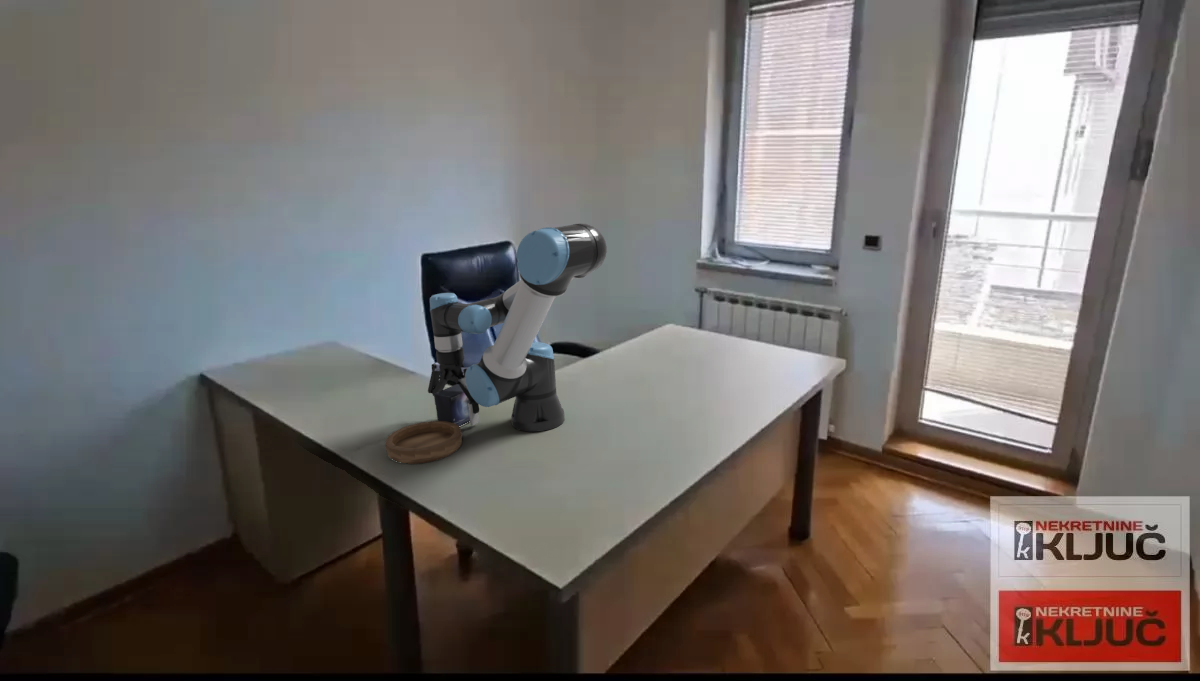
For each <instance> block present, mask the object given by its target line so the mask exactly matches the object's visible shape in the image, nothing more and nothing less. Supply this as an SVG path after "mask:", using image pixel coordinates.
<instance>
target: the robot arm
mask: <svg viewBox="0 0 1200 681" xmlns="http://www.w3.org/2000/svg"><path fill="white" fill-rule="evenodd" d="M607 252H608V251H607V243H606V240H605V237H604V235H603V234H602V233H601V232H600V231H599V230H598V229H597V228H596V227H594V226H592V225H590V224H587V223H575V224H569V225H562V226H557V227H543V228H542V227H541V228H540V229H537V230H533V231H531V232H529V233H527V234H526V235H525V236H523V238H522V239H521V241H520V242H519V244H518V246H517V250H516V255H515V256H516V258H515V259H516V260H517V261H518V262H516V266H517V267H516V268H517V270H518V276H519V278H520V280H519V281H517V282H515V284H514V285H512V286H510V287H509V288H507V289H506V291H504V292H503V293H500V294H499V295H498V296H496V297H491V298H487V299H483V300H480V301H479V300H478V301H475V302H471V303H470V302H469V303H460V302H459V299H458V296H457V295H456V294H455V293H454V292H441V293H437V294H432V295H431V297H429V312H430V318H431V325H432V326H431V327H432V331H433V338H434V339H433V340H434V341H433V342H434V348H435V350H436V352H435V355H436V362H434V363H432V364H431V374H430V379H429V385H428V387H427V388H428V389H427V392H428V393H429V394H432V396H433V399H434V400H435V395H434V394H435V393H437V392H439V391H442V390H444V389H445V387H446V385H447V383H448V381H452V382H454V383H456V384H459V386H460V387H461V389H462V390H463V392H464V393H465V395H466V396H467V398H468V399H469V401H470V403H468V406H469V414H470V423H469V424H470V425H471V426H474V425H476V424H479V422H480V417H479V412H480V406H481V407H485V408H489V407H493V406H497V405H499V404H502V403H504V402H507V401H509V400H511V399H513V398H514V402H513V403H514V404H513V408H512V412H511V418H510V420H511V426H512V427H513V428H514V429H515V430H518V431H523V432H530V433H531V432H543V431H548V430H552V429H554V428H557V427H559V426H561V425H562V424H564V422H565V420H566V419H565V410H564V408H563V406H562V404H561V401H560V399H559V397H558V393H557V385H556V384H557V383H556V380H557V379H556V368H555V357H554V351H553V347H552V346H551V345H550V344H548V343H546V342H539V341H535V339H536V337H537V335H538V333H539V331H540V330H541V327H542V325H543V322H544V321H545V320H546V317H547V315H548V313H549V311H550V309H551V306H552V305H553V303H554V300H555V299H556V298H557V297H561V296H563V295H564V294H565V293H566V292H567V289H568V287H569V286H570V284H571V281H572V280H574V279H578V280H579V279H583V278H584V277H586V276H587V275H589V274H591V273H593V272H595V271H596V270H597V269H598V268H600V267H601V266H602V265H603V263H604V261H605V259H606V258H607V257H606V256H607ZM501 324H502V326H501V327H500V330H499V332H498V335H497V337H496V338H495V342H494V344H493V345H490V346H488V347H487V348H485V350H484V351H483V353H482V356H481V358H480V360H479V362H478V363H472V364H471V365H470V366H468V367H465V366H464V362H465V353H464V348H463V346H464V345H463V338H462V337H463V335H462V333H466V334H470V335H482V334H484V333H485V332H487V331H488V329H490V328H491V327H495V326H497V325H498V326H499V325H501ZM434 405H435V406H436V402H435V401H434Z"/></svg>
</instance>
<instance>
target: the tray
mask: <svg viewBox="0 0 1200 681" xmlns="http://www.w3.org/2000/svg"><path fill="white" fill-rule="evenodd" d="M384 444H385V449H386V453H387V457H388V456H389V457H390V458H391V459H393V460H395V461H397V462H401V463H400V464H402V463H408V464H407V465H418V464H419V465H420V464H427V463H431V462H436V461H438V460H439V461H440V460H441V459H445V458H447V457H450V456H451V455H453V454H455V453H456V452H457V451H459V449H460V448H461V447H462V444H463V440H462V430H461V427H459V426H458V425H456V424H455V423H451V422H446V421H438V420H431V421H430V420H429V421H423V422H422V421H421V422H416V423H414V424H413V423H412V424H410V425H406V426H403V427H401V428H399V429H396V430H395V431H393V432H392V433H390V435H388V436H387V437H386V439H385V442H384ZM389 457H388V458H389ZM390 458H389V459H390ZM391 459H390V460H391ZM397 462H396V463H397Z"/></svg>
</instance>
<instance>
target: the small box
mask: <svg viewBox="0 0 1200 681" xmlns="http://www.w3.org/2000/svg"><path fill="white" fill-rule="evenodd" d="M434 395H435V399H434V403H435V402H436V405H435V409H436V418H437V420H436V421H446V422H451V423H455V424H456V425H458V426H461V425H463V424H465V423H467V422H469V421H470V414H469V406H468V403H470V401H469V399H468V398H467V396H466V395H465V393H464V392H463V390H462V389H461V387H460V386H459V384H457V383H456V384H454V385H452V386H449V387H447V388H444V389H443V390H442V391H439V392H437V393H435V394H434Z"/></svg>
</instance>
